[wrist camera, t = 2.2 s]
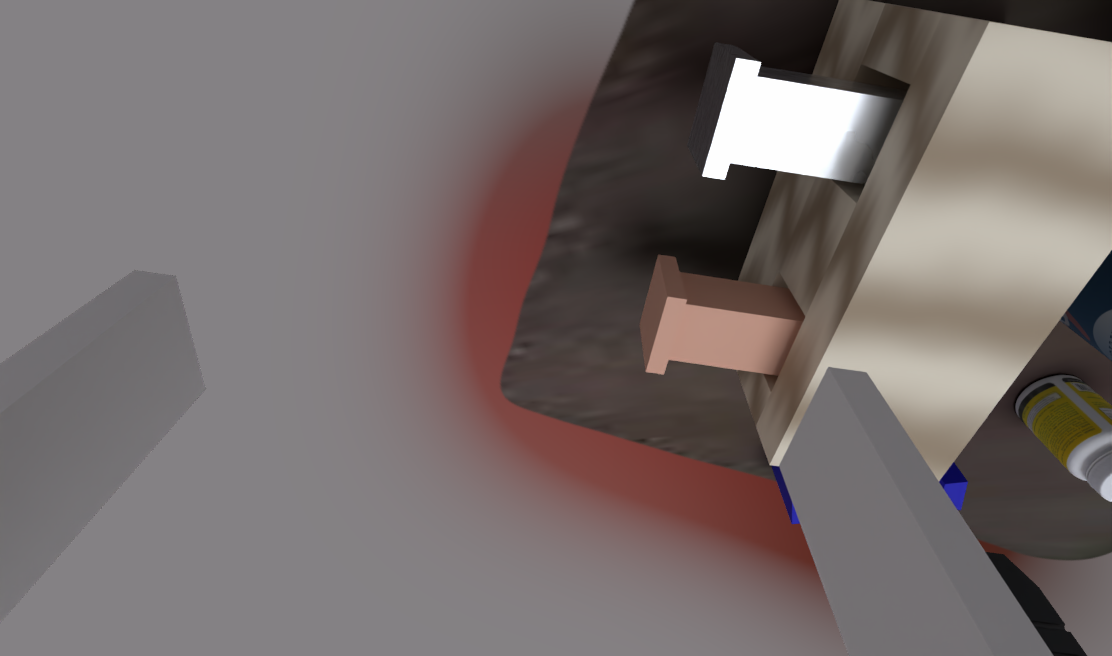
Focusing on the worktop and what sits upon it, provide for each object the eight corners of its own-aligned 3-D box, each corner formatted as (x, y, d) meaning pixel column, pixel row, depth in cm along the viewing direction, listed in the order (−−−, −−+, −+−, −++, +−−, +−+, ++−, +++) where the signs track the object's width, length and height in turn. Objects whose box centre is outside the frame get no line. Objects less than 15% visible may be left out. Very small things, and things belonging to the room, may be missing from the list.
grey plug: (714, 42, 27) (736, 58, 23) (974, 85, 27) (1040, 108, 23) (687, 145, 29) (702, 176, 25) (924, 183, 30) (976, 219, 26)
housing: (840, -5, 30) (989, 21, 19) (1005, 23, 30) (1249, 65, 19) (721, 326, 42) (769, 465, 30) (841, 344, 42) (933, 488, 31)
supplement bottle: (1011, 426, 45) (1088, 513, 38) (1014, 381, 43) (1097, 465, 36) (1080, 412, 44) (1173, 499, 37) (1088, 366, 42) (1188, 449, 35)
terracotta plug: (658, 254, 33) (667, 296, 29) (871, 286, 33) (909, 332, 29) (639, 324, 35) (645, 371, 31) (837, 353, 36) (868, 404, 32)
